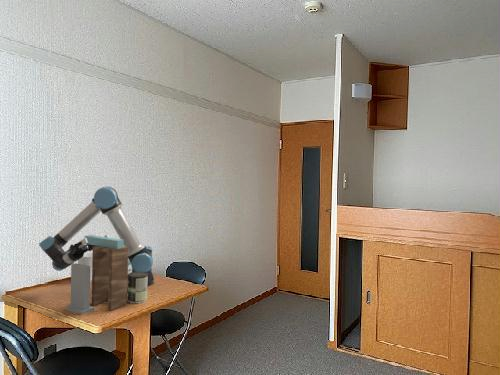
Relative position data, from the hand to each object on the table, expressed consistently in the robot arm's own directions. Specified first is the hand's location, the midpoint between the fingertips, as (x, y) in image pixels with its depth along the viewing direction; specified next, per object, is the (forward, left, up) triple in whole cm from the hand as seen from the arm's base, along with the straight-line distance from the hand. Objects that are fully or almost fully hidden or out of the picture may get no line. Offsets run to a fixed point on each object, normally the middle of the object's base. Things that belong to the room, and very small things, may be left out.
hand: (97, 238), depth 193 cm
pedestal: (+10, +7, -33) cm, 36 cm away
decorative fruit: (-20, -7, -34) cm, 40 cm away
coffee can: (-18, +9, -34) cm, 39 cm away
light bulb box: (-36, -50, -34) cm, 70 cm away
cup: (-10, -45, -34) cm, 57 cm away
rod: (-2, +4, -3) cm, 5 cm away
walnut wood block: (-3, +9, -33) cm, 35 cm away
